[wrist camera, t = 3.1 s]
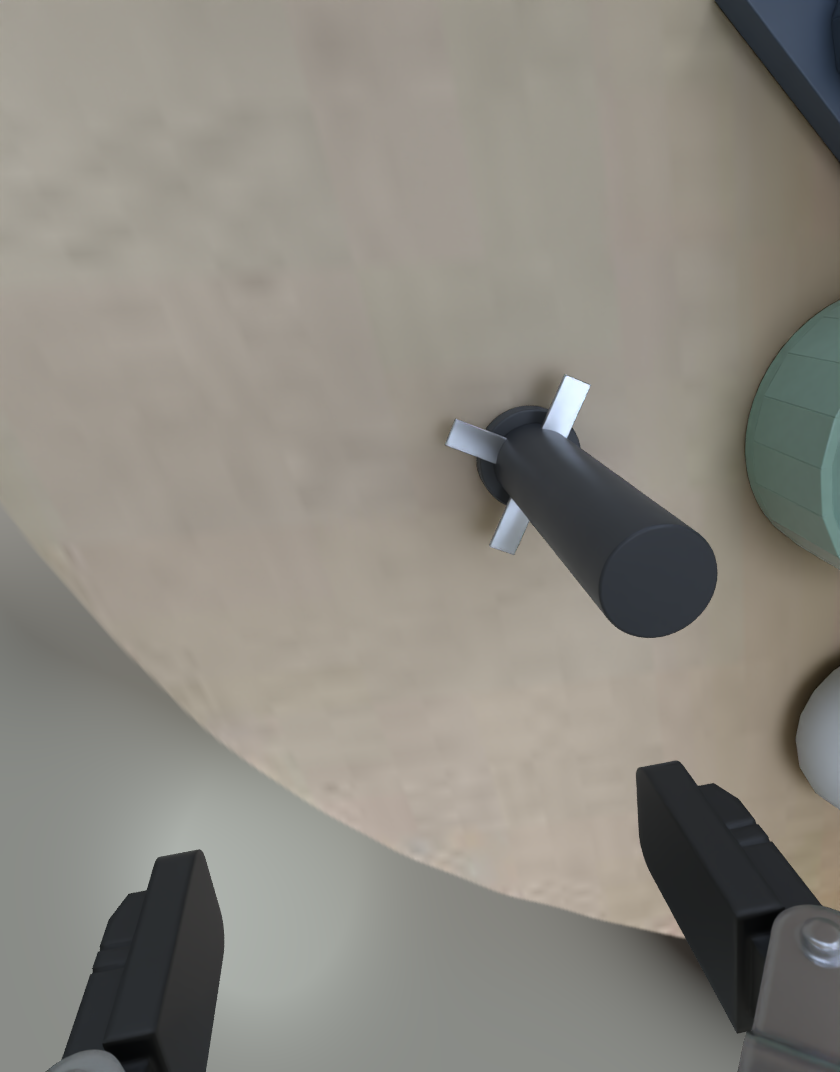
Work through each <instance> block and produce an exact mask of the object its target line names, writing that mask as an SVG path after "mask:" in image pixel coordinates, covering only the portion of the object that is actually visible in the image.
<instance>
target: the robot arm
mask: <svg viewBox="0 0 840 1072" xmlns="http://www.w3.org/2000/svg"><path fill="white" fill-rule="evenodd" d="M636 785H637V805H638V825H639V838H640V844H641V848H642V852H643V856H644V859H645V862H646V864H647V867H648V869H649V871H650V873H651V875H652V877H653V879H654V880H655V882H656V884H657V886H658V888H659V890H660V892H661V893H662V895H663V897H664V899H665V901H666V903H667V905H668V906H669V908H670V910H671V912H672V914H673V916H674V917H675V919H676V921H677V923H678V925H679V927H680V929H681V930H682V932H683V934H684V936H685V938H686V940H687V942H688V943H689V945H690V947H691V949H692V951H693V952H694V954H695V956H696V958H697V960H698V962H699V964H700V966H701V968H702V969H703V971H704V973H705V975H706V977H707V979H708V981H709V982H710V984H711V986H712V988H713V990H714V992H715V993H716V995H717V997H718V999H719V1001H720V1003H721V1005H722V1006H723V1008H724V1010H725V1012H726V1014H727V1016H728V1018H729V1020H730V1021H731V1023H732V1025H733V1027H734V1029H735V1031H736V1032H737V1033H742V1032H746V1035H745V1039H744V1042H743V1047H742V1052H741V1057H740V1062H739V1067H738V1071H737V1072H840V912H839V911H837V910H834V909H831V908H828V907H824V906H822V905H821V904H820V902H819V901H818V900H817V898H816V897H815V896H814V895H813V893H812V892H811V891H810V890H809V888H808V887H807V886H806V884H805V883H804V882H803V881H802V879H801V878H800V877H799V875H798V874H797V873H796V872H795V870H794V869H793V868H792V867H791V865H790V864H789V863H788V861H787V860H786V859H785V858H784V856H783V855H782V854H781V852H780V851H779V850H778V849H777V847H776V846H775V845H774V843H773V842H770V841H769V837H768V836H767V835H766V833H765V832H764V831H763V829H762V828H761V827H760V826H759V824H756V822H755V819H754V818H753V817H752V815H751V814H750V813H749V812H748V810H747V809H746V808H745V806H744V805H743V804H742V803H741V801H740V800H739V799H738V798H736V797H735V796H733V795H731V794H730V793H728V792H727V791H725V790H724V789H722V788H721V787H719V786H717V785H716V784H714V783H712V784H707V785H701V786H698V785H697V784H696V783H695V781H694V780H693V779H692V777H691V776H690V774H689V773H688V772H687V770H686V769H685V767H684V766H683V765H682V764H681V763H680V762H679V761H671V762H666V763H661V764H655V765H650V766H645V767H639V768H638V769H637V772H636ZM223 954H224V928H223V920H222V915H221V911H220V908H219V904H218V901H217V897H216V894H215V890H214V887H213V883H212V880H211V876H210V873H209V869H208V866H207V862H206V859H205V856H204V854H203V852H202V851H201V850H194V851H189V852H183V853H178V854H173V855H167V856H162V857H158V858H157V859H156V861H155V864H154V867H153V870H152V874H151V878H150V881H149V884H148V888H147V890H146V891H141V892H136V893H131V894H128V896H127V897H126V898H125V899H124V901H123V902H122V903H121V905H120V906H119V907H118V908H117V910H116V911H115V913H114V914H113V915H112V916H111V918H110V919H109V921H108V924H107V927H106V930H105V933H104V936H103V939H102V942H101V944H100V952H98V953H97V957H96V959H95V962H94V965H93V968H92V969H93V973H92V974H91V975H90V977H89V980H88V983H87V986H86V989H85V992H84V995H83V998H82V1001H81V1004H80V1007H79V1010H78V1013H77V1016H76V1019H75V1022H74V1025H73V1028H72V1031H71V1034H70V1037H69V1040H68V1042H67V1045H66V1048H65V1052H64V1055H63V1057H62V1060H61V1061H59V1062H58V1063H56V1064H55V1065H53V1066H52V1067H51V1068H49V1070H47V1071H46V1072H206V1066H207V1060H208V1053H209V1047H210V1040H211V1033H212V1027H213V1020H214V1014H215V1007H216V1001H217V994H218V987H219V981H220V974H221V968H222V961H223ZM751 1030H752V1031H751Z"/></svg>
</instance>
